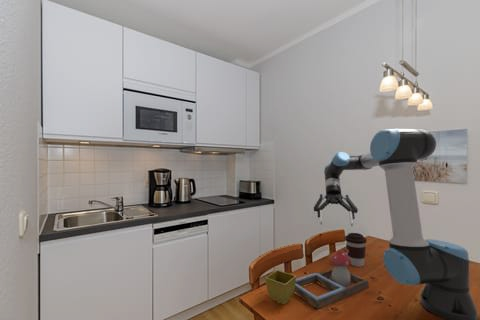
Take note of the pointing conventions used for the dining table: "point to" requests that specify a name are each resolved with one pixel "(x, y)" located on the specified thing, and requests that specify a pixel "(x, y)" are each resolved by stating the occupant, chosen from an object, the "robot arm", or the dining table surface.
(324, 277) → the slate-blue rim
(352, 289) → the gray organizer
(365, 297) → the dining table surface
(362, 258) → the coffee cup
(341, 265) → the decorative ornament
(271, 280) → the flower pot
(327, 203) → the robot arm
